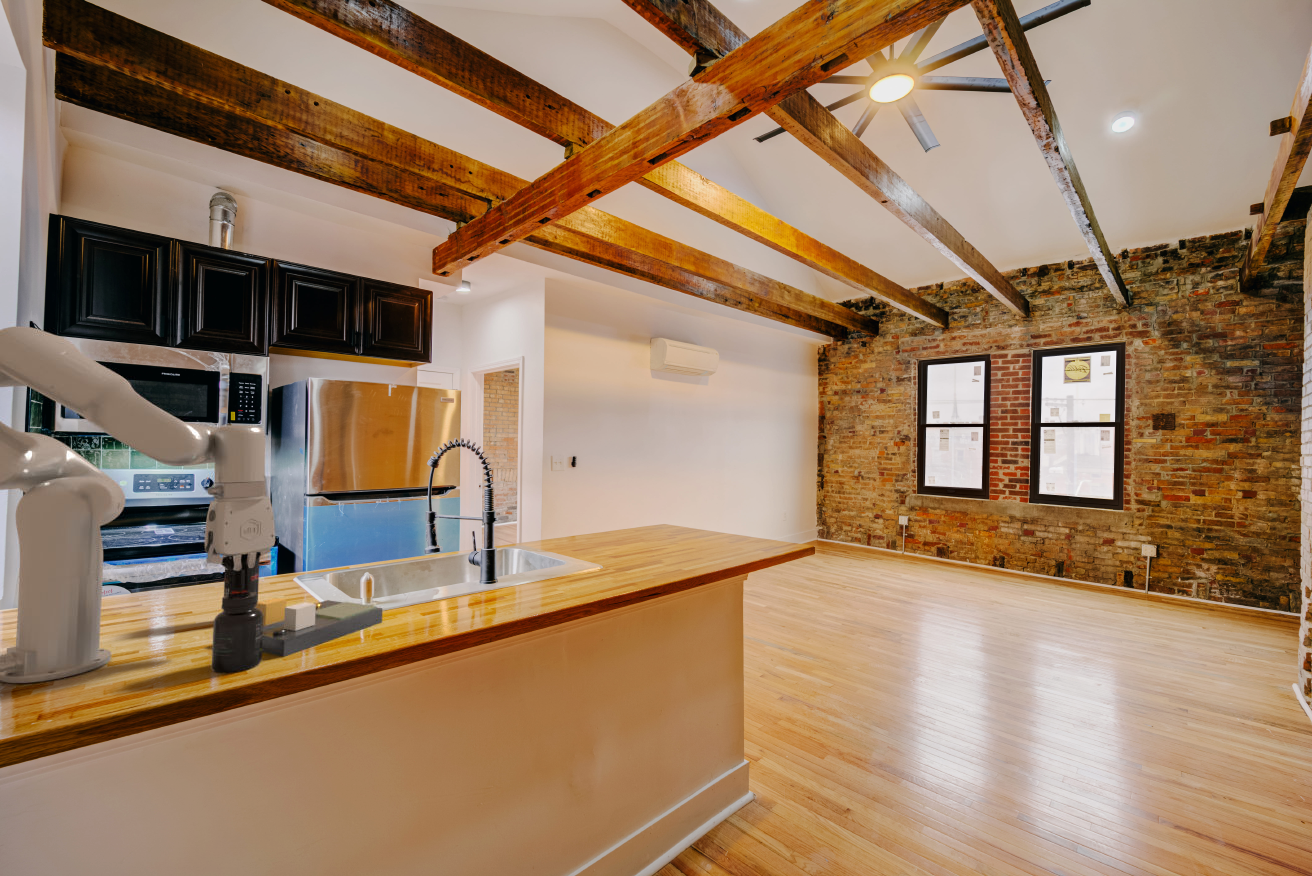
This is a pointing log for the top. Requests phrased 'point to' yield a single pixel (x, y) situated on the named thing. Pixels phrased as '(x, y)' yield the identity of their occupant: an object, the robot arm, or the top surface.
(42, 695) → the top surface
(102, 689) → the top surface
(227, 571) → the deodorant
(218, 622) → the supplement bottle
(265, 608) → the block
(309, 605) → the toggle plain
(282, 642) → the panel
